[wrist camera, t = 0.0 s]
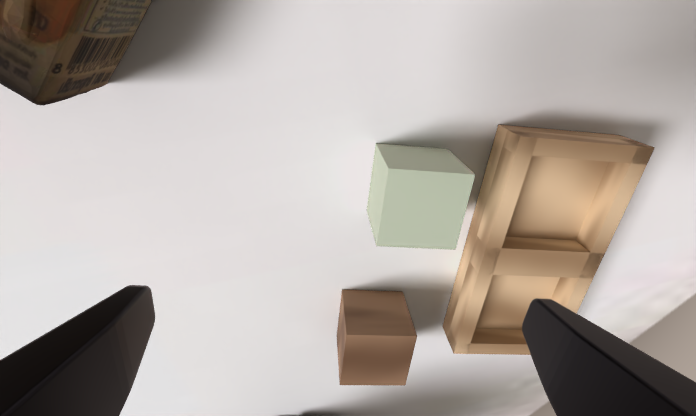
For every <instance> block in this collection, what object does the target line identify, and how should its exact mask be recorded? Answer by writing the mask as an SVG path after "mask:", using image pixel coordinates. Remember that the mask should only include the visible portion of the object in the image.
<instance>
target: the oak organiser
mask: <svg viewBox="0 0 696 416" xmlns="http://www.w3.org/2000/svg"><path fill="white" fill-rule="evenodd" d="M653 150H654V147H651V146H649V145H646V144H643V143H640V142H637V141H635V140H632V139H629V138H626V137H623V136H621V135H613V134H601V133H590V132H578V131H567V130H555V129H544V128H532V127H521V126H509V125H498V127H497V131H496V135H495V138H494V142H493V145H492V149H491V153H490V156H489V160H488V164H487V167H486V171H485V174H484V178H483V182H482V185H481V189H480V192H479V196H478V200H477V203H476V207H475V211H474V214H473V218H472V221H471V225H470V229H469V232H468V236H467V239H466V243H465V247H464V250H463V254H462V258H461V261H460V265H459V268H458V272H457V276H456V279H455V283H454V286H453V290H452V294H451V297H450V301H449V305H448V308H447V312H446V315H445V319H444V323H443V326H442V327H443V329H444V331H445V334H446V336H447V339H448V341H449V343H450V346H451V348H452V350H453V353H454V354H520V355H531V354H530V351H529V349H528V346H527V343H526V341H525V338H524V335H523V332H522V323H523V320H524V318H525V315H526V313H527V310H528V308H529V305H530V303H531V301H532V300H533V299H536V298H541V299H552V300H554V301H555V302H557V303H559V304H561V305H562V306H564V307H566V308H568V309H569V310H571V311H573V312H574V313H577V311H578V309H579V307H580V305H581V303H582V300H583V298H584V296H585V294H586V292H587V290H588V288H589V286H590V284H591V281H592V279H593V277H594V275H595V273H596V271H597V269H598V267H599V265H600V262H601V260H602V258H603V256H604V254H605V252H606V250H607V248H608V245H609V243H610V241H611V239H612V237H613V235H614V233H615V231H616V229H617V226H618V224H619V222H620V220H621V218H622V216H623V214H624V212H625V209H626V207H627V205H628V203H629V201H630V199H631V197H632V195H633V193H634V190H635V188H636V186H637V184H638V182H639V180H640V178H641V176H642V174H643V171H644V169H645V167H646V165H647V163H648V161H649V159H650V157H651V154H652V152H653Z"/></svg>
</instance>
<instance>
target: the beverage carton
mask: <svg viewBox="0 0 696 416" xmlns="http://www.w3.org/2000/svg"><path fill="white" fill-rule="evenodd" d="M151 1H152V0H0V84H2V85H4V86H5V87H7V88H9V89H11V90H12V91H14V92H16V93H18V94H19V95H21V96H23V97H24V98H26V99H28V100H29V101H31V102H33V103H35V104H37V105H46V104H51V103H55V102H58V101H62V100H65V99H68V98H71V97H74V96H76V95H78V94H83V93H87V92H88V91H90V90H94V89H96V88H99V87H102V86H104V85H106V84H107V83H108V80H109V78H110V77H111V75H112V73H113V72H114V70H115V68H116V67H117V65H118V64H119V62H120V60H121V58H122V56H123V54H124V53H125V51H126V49H127V47H128V45H129V43H130V41H131V40H132V38H133V36H134V34H135V32H136V30H137V28H138V26H139V24H140V22H141V20H142V18H143V16H144V14H145V13H146V11H147V9H148V7H149V5H150V3H151Z"/></svg>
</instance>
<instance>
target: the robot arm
mask: <svg viewBox="0 0 696 416" xmlns="http://www.w3.org/2000/svg"><path fill="white" fill-rule="evenodd" d="M154 322H155V311H154V305H153V299H152V293H151V289H150V288H149V287H148V286H141V285H129V286H127V287H125V288H123V289H121V290H120V291H118V292H116V293H115V294H113V295H111V296H109V297H108V298H106V299H104V300H103V301H101V302H99V303H97V304H96V305H94V306H92V307H91V308H89V309H87V310H85V311H84V312H82V313H80V314H79V315H77V316H75V317H73V318H72V319H70V320H68V321H67V322H65V323H63V324H61V325H60V326H58V327H56V328H55V329H53V330H51V331H49V332H48V333H46V334H44V335H43V336H41V337H39V338H37V339H36V340H34V341H32V342H31V343H29V344H27V345H25V346H24V347H22V348H20V349H19V350H17V351H15V352H13V353H12V354H10V355H8V356H7V357H5V358H3V359H1V360H0V416H119V415H120V412H121V410H122V408H123V406H124V404H125V402H126V400H127V397H128V395H129V393H130V391H131V388H132V385H133V383H134V380H135V377H136V374H137V372H138V369H139V366H140V363H141V360H142V357H143V355H144V352H145V349H146V346H147V343H148V340H149V338H150V335H151V332H152V329H153V326H154ZM522 332H523V335H524V338H525V341H526V343H527V346H528V349H529V351H530V354H531V356H532V359H533V362H534V364H535V367H536V369H537V372H538V375H539V377H540V380H541V383H542V385H543V387H544V390H545V392H546V394H547V396H548V399H549V401H550V403H551V405H552V407H553V409H554V411H555V413H556V415H557V416H696V382H694V381H692V380H691V379H689V378H687V377H685V376H684V375H682V374H680V373H679V372H677V371H675V370H673V369H672V368H670V367H668V366H666V365H665V364H663V363H661V362H660V361H658V360H656V359H654V358H652V357H651V356H649V355H647V354H646V353H644V352H642V351H640V350H639V349H637V348H635V347H633V346H632V345H630V344H628V343H627V342H625V341H623V340H621V339H620V338H618V337H616V336H614V335H613V334H611V333H609V332H607V331H606V330H604V329H602V328H601V327H599V326H597V325H595V324H594V323H592V322H590V321H588V320H587V319H585V318H583V317H581V316H580V315H578V314H576V313H574V312H573V311H571V310H569V309H568V308H566V307H564V306H562V305H561V304H559V303H557V302H555V301H554V300H552V299H541V298H536V299H533V300H532V301H531V303H530V305H529V308H528V310H527V313H526V315H525V318H524V320H523V323H522Z"/></svg>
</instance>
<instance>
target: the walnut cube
mask: <svg viewBox="0 0 696 416" xmlns="http://www.w3.org/2000/svg"><path fill="white" fill-rule="evenodd" d="M416 338H417V335H416V332H415V328H414V325H413V322H412V319H411V316H410V313H409V310H408V307H407V304H406V300H405V297H404V294H403V291H373V290H343V289H342V295H341V304H340V313H339V321H338V330H337V347H338V363H339V379H340V385H405V384H406V380H407V376H408V372H409V367H410V363H411V359H412V355H413V351H414V347H415V343H416Z"/></svg>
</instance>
